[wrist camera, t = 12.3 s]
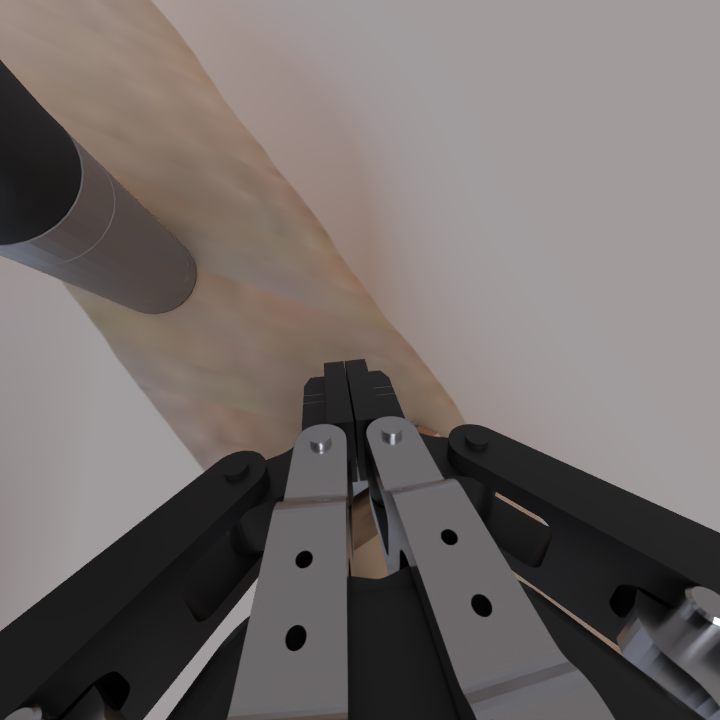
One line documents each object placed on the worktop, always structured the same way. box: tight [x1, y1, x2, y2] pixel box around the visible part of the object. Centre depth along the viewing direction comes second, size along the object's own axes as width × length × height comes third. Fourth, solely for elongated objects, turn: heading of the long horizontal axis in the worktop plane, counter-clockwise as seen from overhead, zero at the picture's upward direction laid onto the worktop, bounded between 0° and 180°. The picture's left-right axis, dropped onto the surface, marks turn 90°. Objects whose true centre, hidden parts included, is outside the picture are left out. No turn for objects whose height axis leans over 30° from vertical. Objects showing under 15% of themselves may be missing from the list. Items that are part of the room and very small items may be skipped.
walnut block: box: [352, 487, 388, 579], centre depth 30 cm, size 13×5×12 cm, turn 121°
